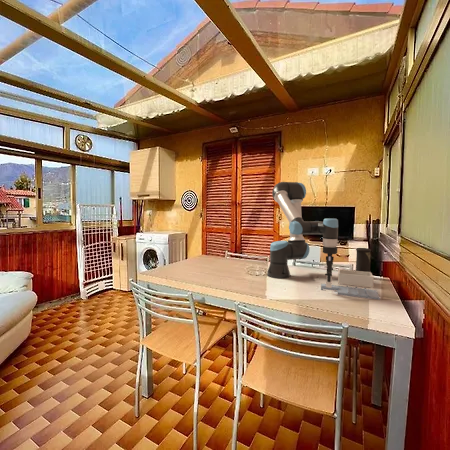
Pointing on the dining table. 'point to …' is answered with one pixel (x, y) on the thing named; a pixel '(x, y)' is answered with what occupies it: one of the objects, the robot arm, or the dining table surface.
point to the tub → (355, 278)
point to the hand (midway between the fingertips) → (328, 284)
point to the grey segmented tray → (353, 291)
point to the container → (363, 259)
